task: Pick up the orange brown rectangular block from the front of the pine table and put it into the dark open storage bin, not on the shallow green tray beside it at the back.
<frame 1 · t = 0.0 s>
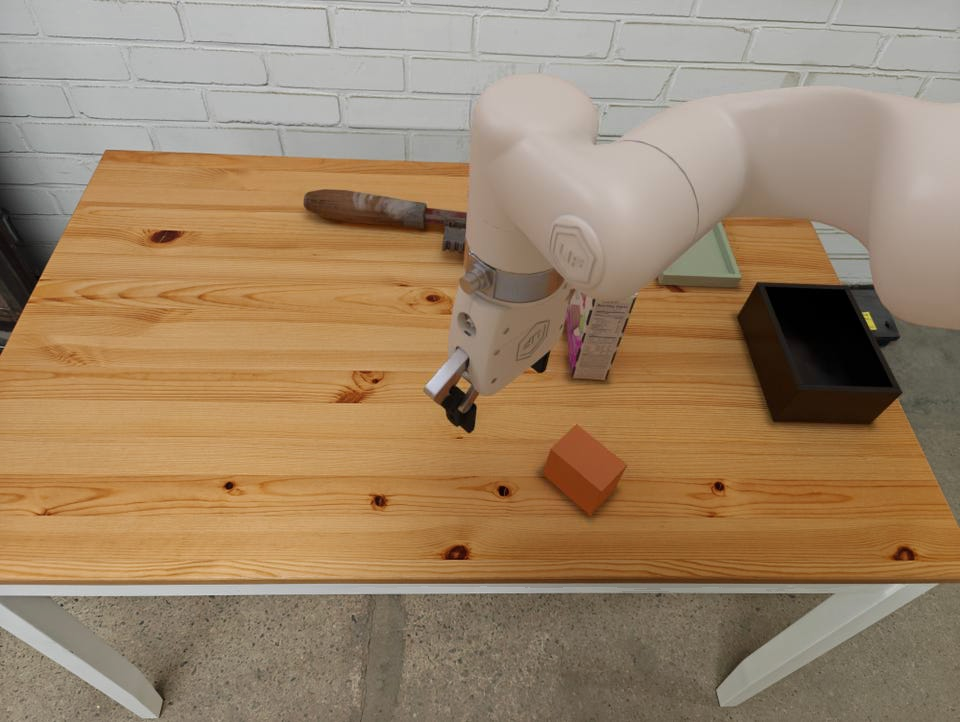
hand: (496, 391, 59), 16 cm above the table, tool pointing down, fingers open, 9 cm apart
orange brown rectangular block: (578, 482, 72), on the table
candy bar box: (583, 348, 84), on the table
pipe wrench: (434, 242, 95), on the table
dark open storage bin: (799, 367, 84), on the table
shallow green tray: (685, 245, 98), on the table
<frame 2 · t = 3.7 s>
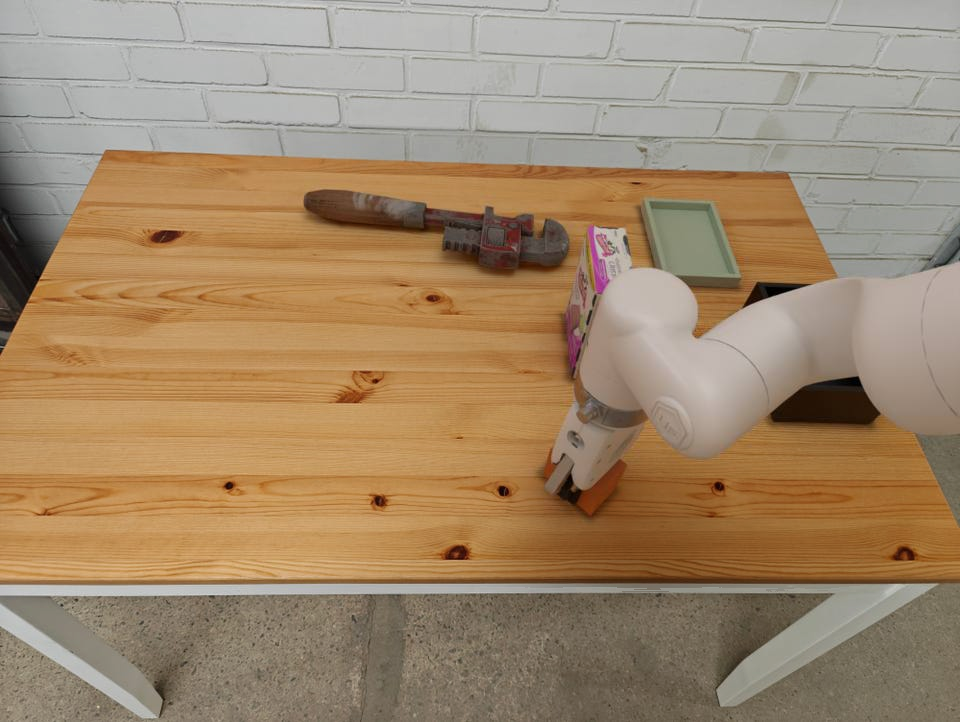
hand: (579, 479, 71), 1 cm above the table, tool pointing down, fingers closed on orange brown rectangular block, 4 cm apart
orange brown rectangular block: (578, 482, 72), on the table, touching gripper
everything else where it was.
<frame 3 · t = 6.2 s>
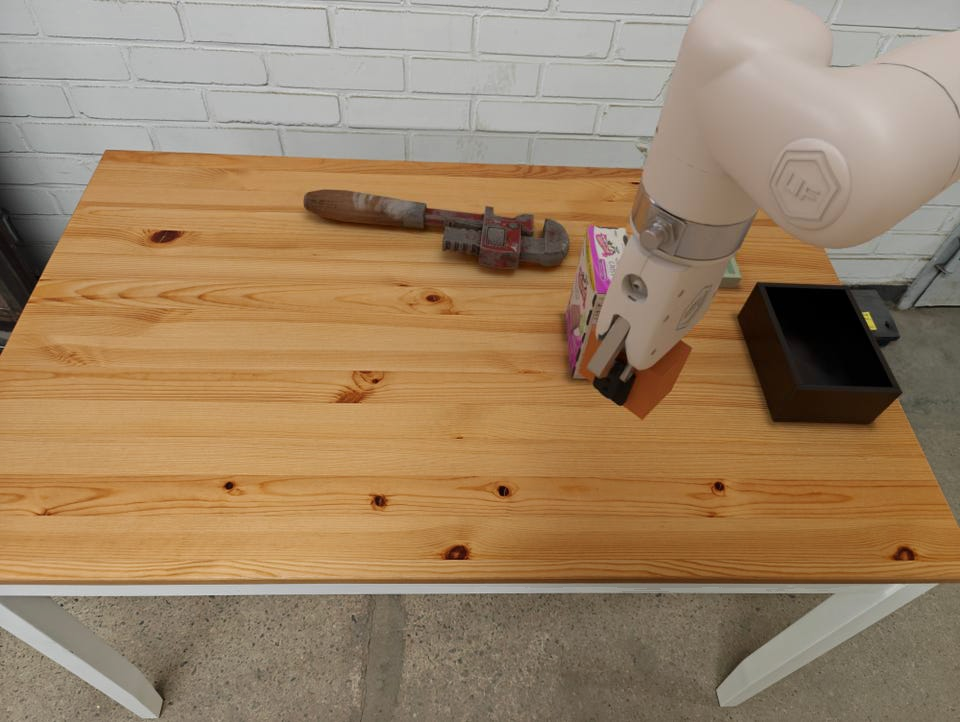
hand: (626, 376, 55), 21 cm above the table, tool pointing down, fingers closed on orange brown rectangular block, 4 cm apart
orange brown rectangular block: (624, 381, 56), point 20 cm above the table, touching gripper
everything else where it was.
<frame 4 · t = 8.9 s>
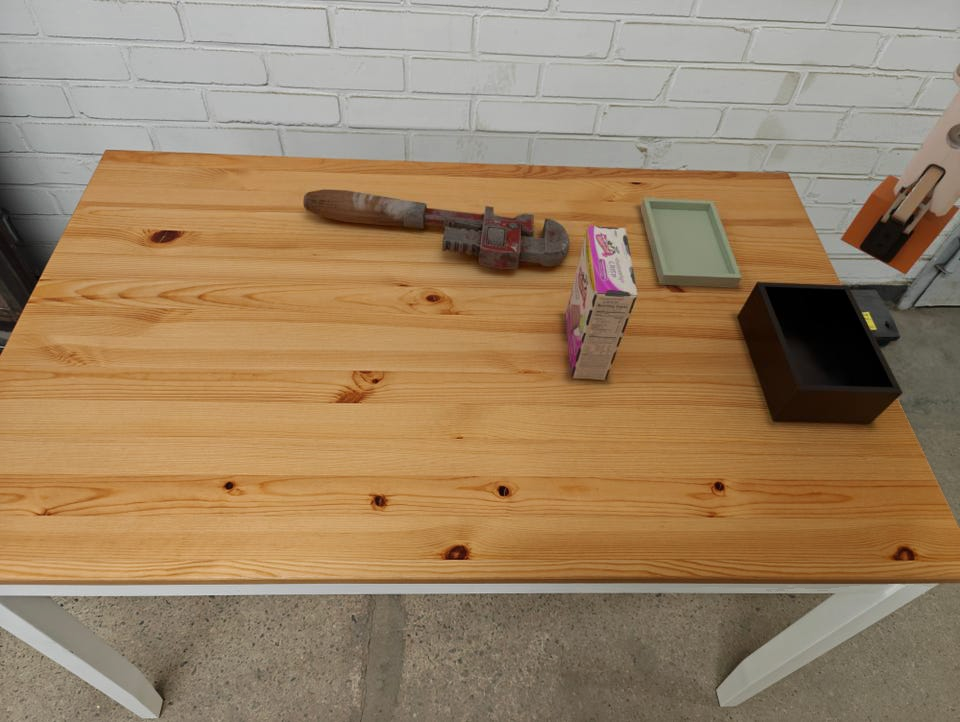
hand: (885, 241, 65), 23 cm above the table, tool pointing down, fingers closed on orange brown rectangular block, 4 cm apart
orange brown rectangular block: (880, 246, 65), point 22 cm above the table, touching gripper
everything else where it was.
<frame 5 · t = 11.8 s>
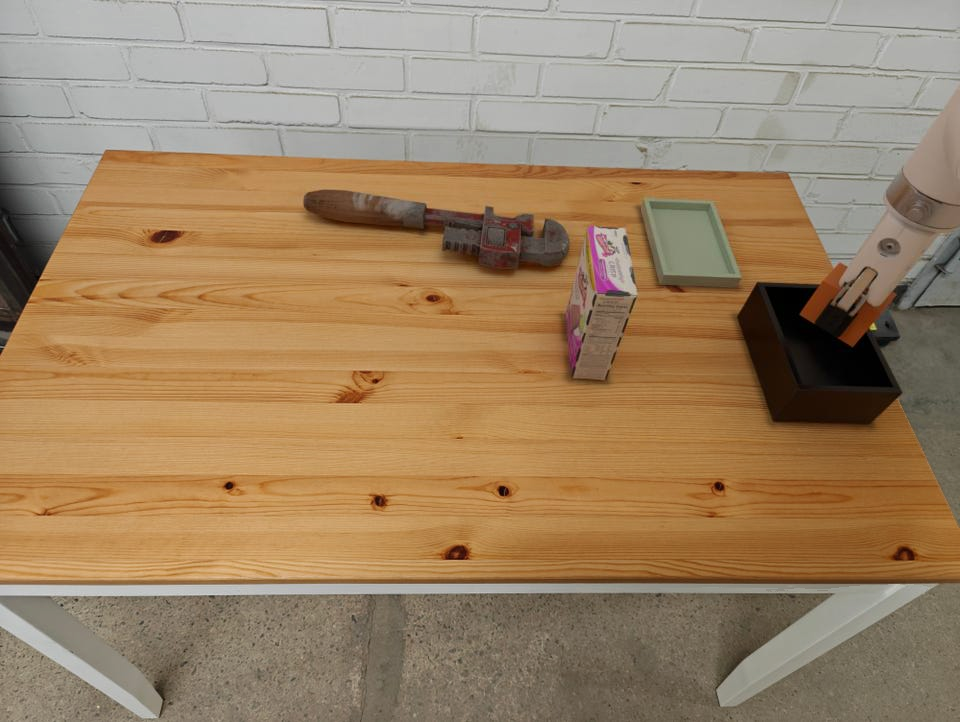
hand: (837, 317, 76), 10 cm above the table, tool pointing down, fingers closed on orange brown rectangular block, 4 cm apart
orange brown rectangular block: (833, 321, 77), point 9 cm above the table, touching gripper
everything else where it was.
when the fingers open (3 cm above the table, at t = 14.8 s): orange brown rectangular block stays where it is, resting on dark open storage bin.
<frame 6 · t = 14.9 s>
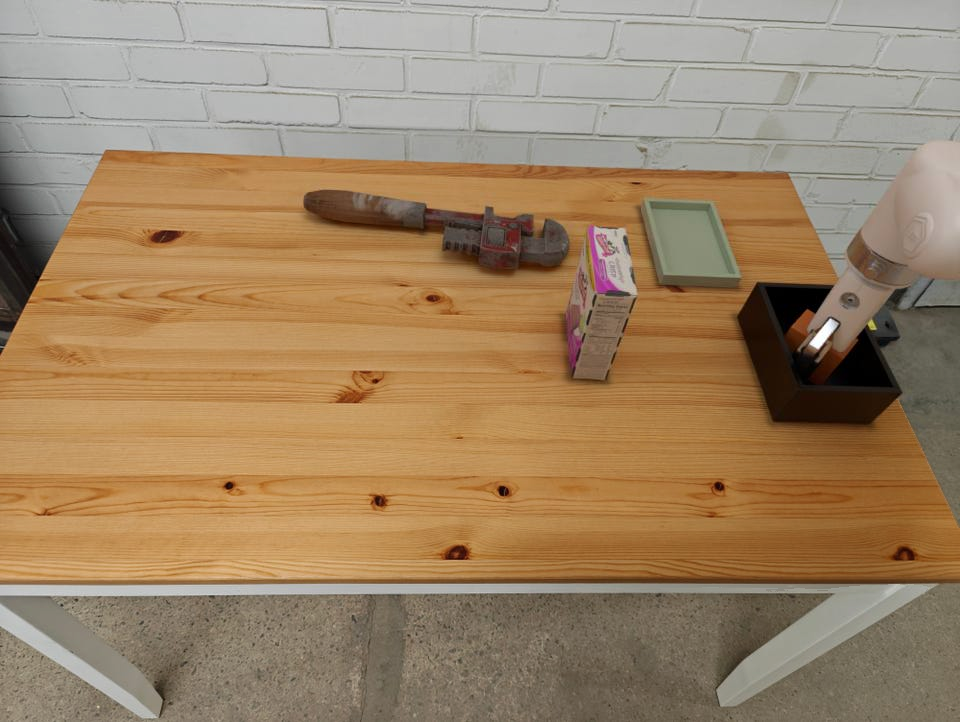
hand: (811, 354, 81), 3 cm above the table, tool pointing down, fingers open, 9 cm apart
orange brown rectangular block: (802, 362, 83), point 1 cm above the table, touching dark open storage bin
everything else where it was.
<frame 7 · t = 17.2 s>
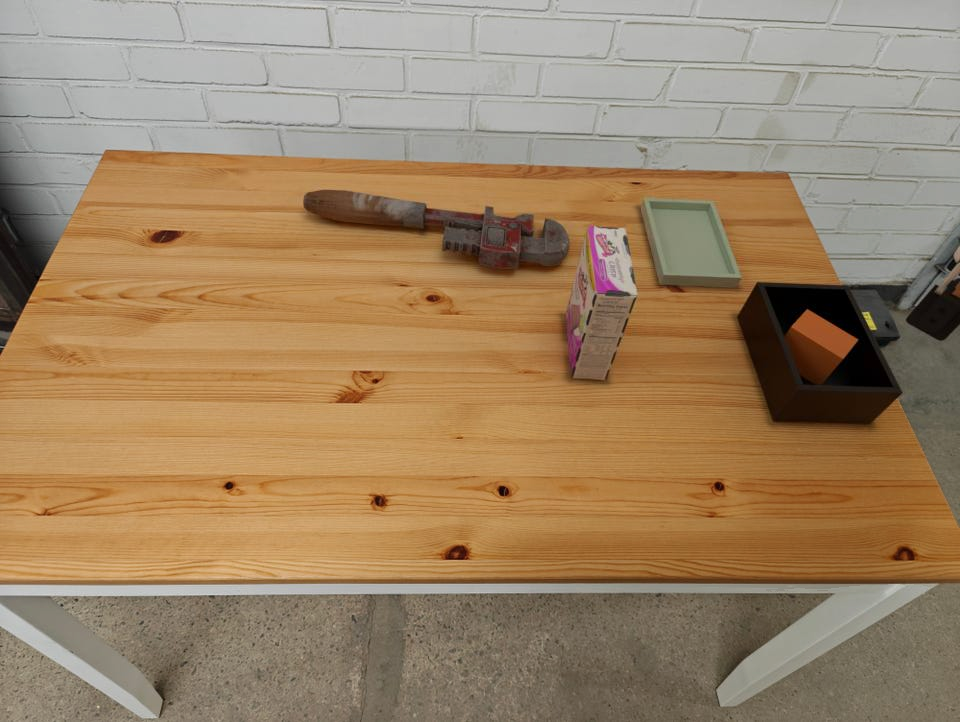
hand: (944, 301, 55), 27 cm above the table, tool pointing down, fingers open, 9 cm apart
nothing on the table moved.
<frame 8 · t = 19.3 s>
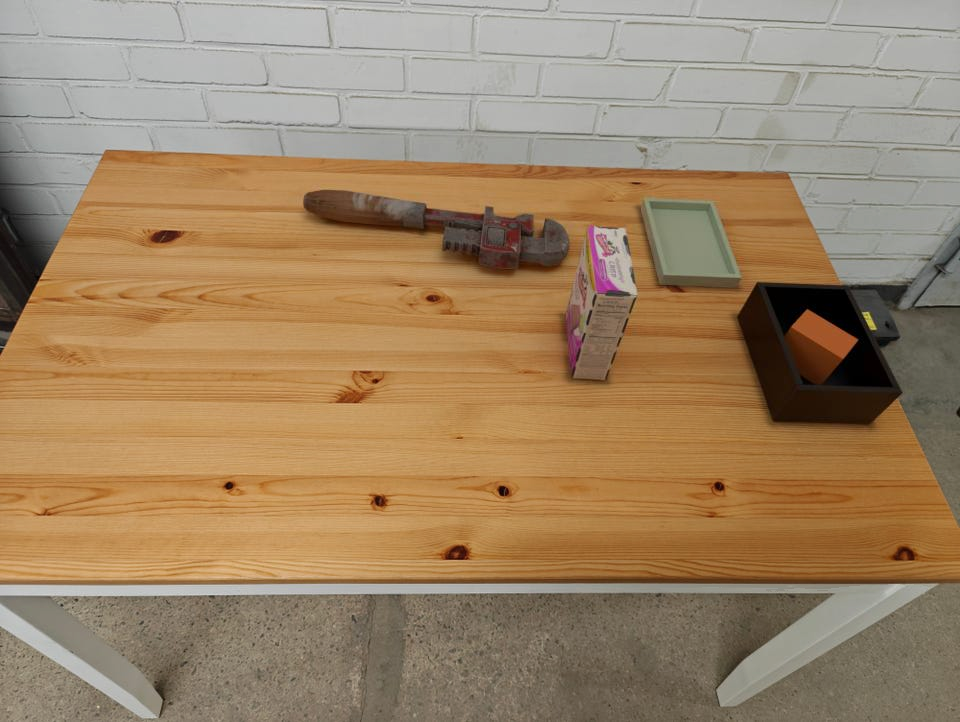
nothing on the table moved.
at the end: orange brown rectangular block inside the target area in the dark open storage bin (0.1 cm from its centre), point 1.0 cm above the dark open storage bin's base; orange brown rectangular block touching dark open storage bin; the gripper is holding nothing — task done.
